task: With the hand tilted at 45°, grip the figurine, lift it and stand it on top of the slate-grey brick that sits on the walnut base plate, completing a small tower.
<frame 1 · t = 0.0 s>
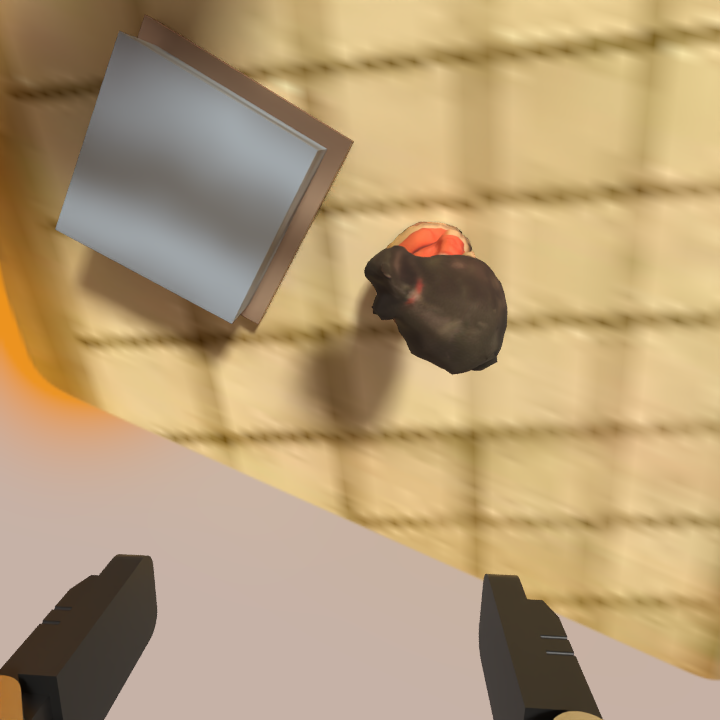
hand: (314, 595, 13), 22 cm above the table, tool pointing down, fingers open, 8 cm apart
pedestal: (214, 183, 31), on the table
figurine: (422, 264, 32), on the table
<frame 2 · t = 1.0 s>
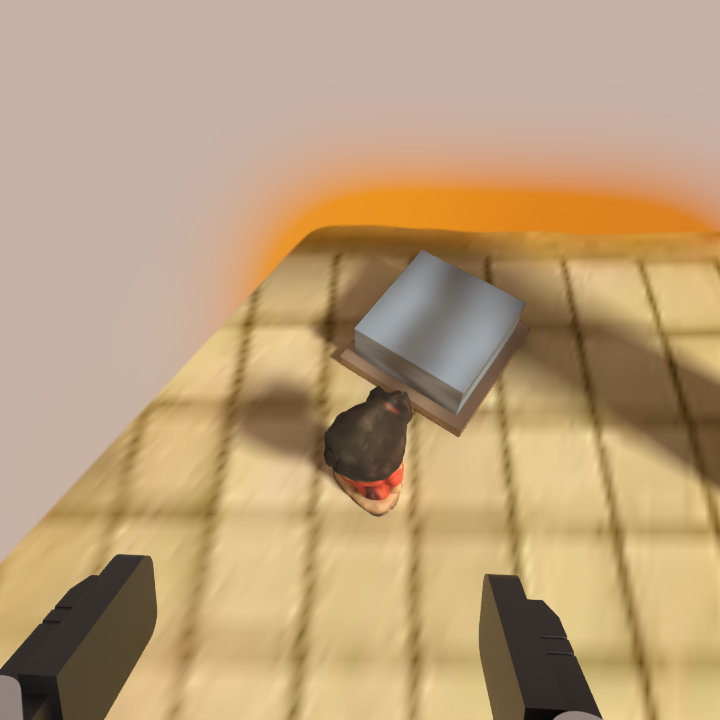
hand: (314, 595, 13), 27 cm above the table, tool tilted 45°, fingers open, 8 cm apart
pedestal: (435, 348, 47), on the table
figurine: (368, 479, 41), on the table
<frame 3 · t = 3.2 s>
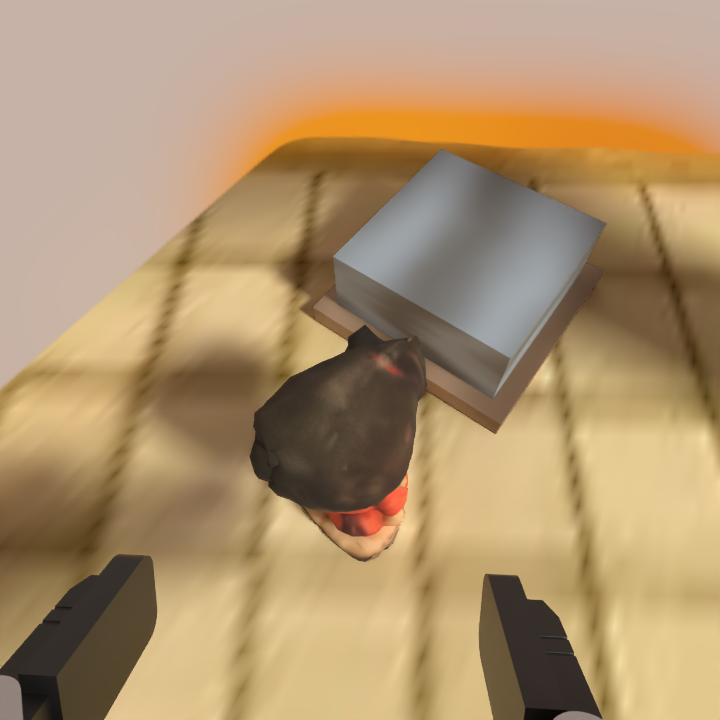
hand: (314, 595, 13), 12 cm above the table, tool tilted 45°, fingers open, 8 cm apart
pedestal: (457, 301, 31), on the table
figurine: (350, 497, 26), on the table
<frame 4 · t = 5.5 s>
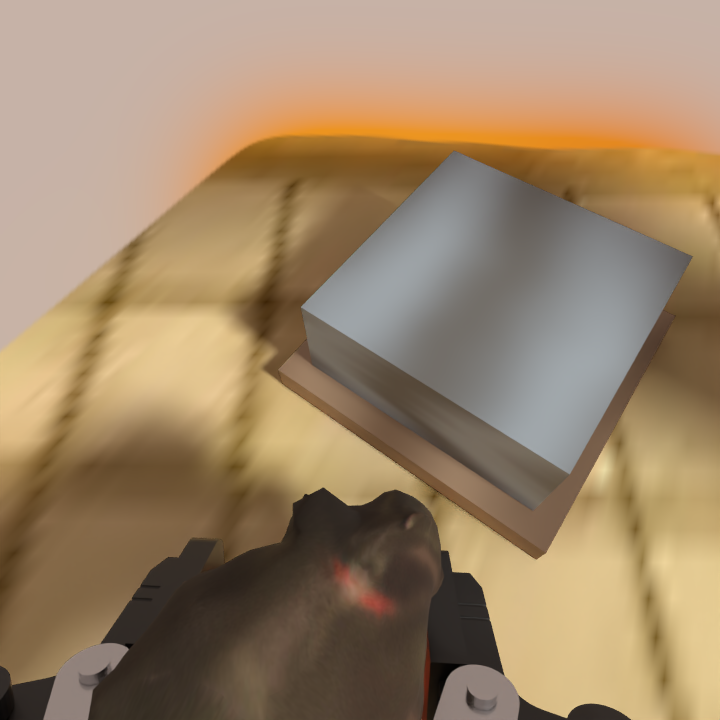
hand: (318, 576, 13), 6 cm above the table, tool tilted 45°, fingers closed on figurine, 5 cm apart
pedestal: (475, 356, 23), on the table
figurine: (326, 663, 17), on the table, touching gripper
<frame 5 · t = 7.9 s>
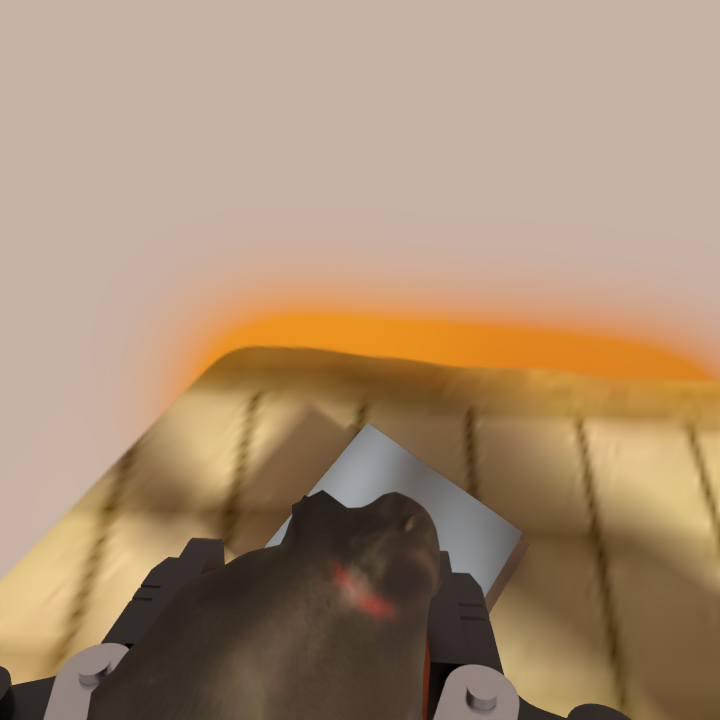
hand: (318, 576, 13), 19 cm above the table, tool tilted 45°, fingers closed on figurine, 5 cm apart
pedestal: (383, 568, 31), on the table
figurine: (324, 664, 17), point 13 cm above the table, touching gripper
when the fingers open (12 cm above the table, at t = 10.4 s): figurine drops 1 cm, resting on pedestal.
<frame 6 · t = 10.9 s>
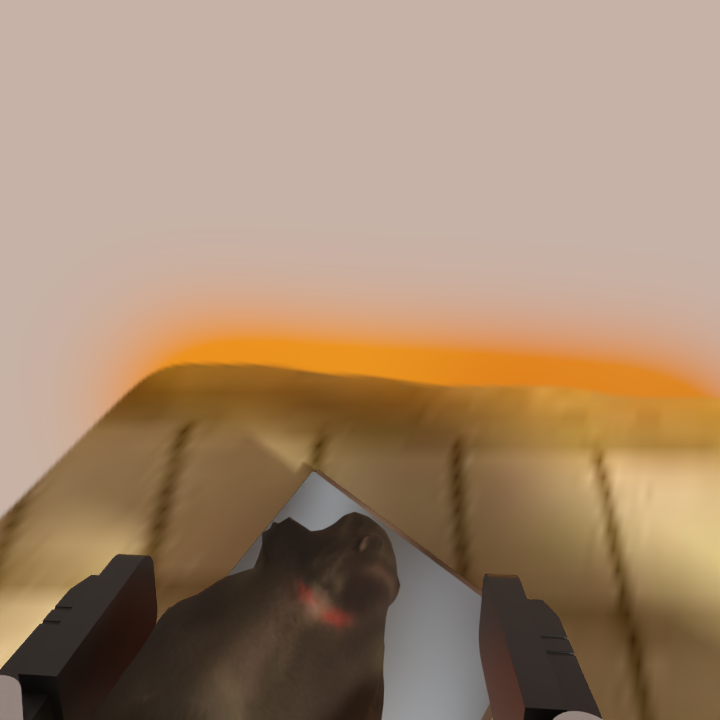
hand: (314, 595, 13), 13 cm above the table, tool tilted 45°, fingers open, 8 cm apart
pedestal: (340, 664, 23), on the table
figurine: (307, 667, 19), point 5 cm above the table, touching pedestal
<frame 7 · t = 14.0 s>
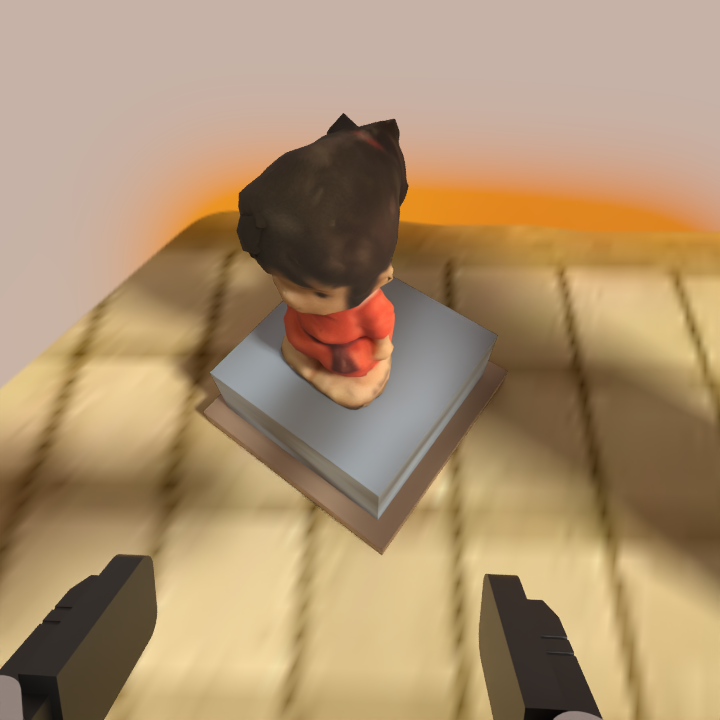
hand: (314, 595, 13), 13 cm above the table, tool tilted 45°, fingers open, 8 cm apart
pedestal: (358, 400, 30), on the table
figurine: (338, 357, 26), point 5 cm above the table, touching pedestal
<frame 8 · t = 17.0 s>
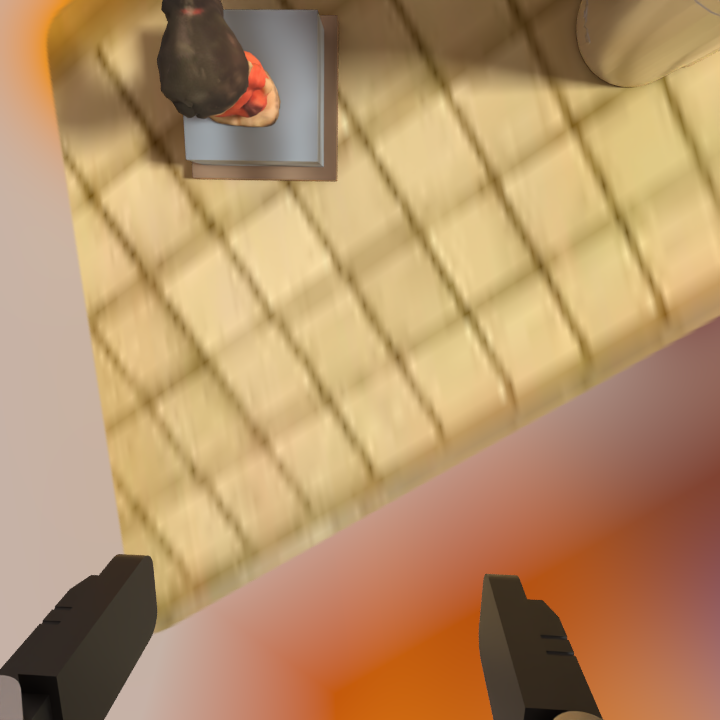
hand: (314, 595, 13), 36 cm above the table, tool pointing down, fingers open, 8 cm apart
pedestal: (265, 103, 43), on the table
figurine: (241, 97, 39), point 5 cm above the table, touching pedestal
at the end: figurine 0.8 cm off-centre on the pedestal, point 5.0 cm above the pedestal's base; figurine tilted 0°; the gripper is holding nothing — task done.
